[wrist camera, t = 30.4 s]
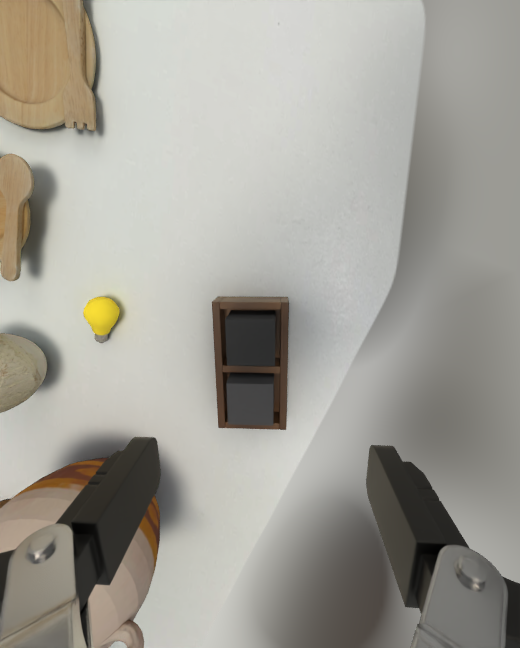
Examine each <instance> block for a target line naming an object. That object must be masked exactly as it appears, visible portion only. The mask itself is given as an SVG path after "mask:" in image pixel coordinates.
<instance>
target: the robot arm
mask: <svg viewBox="0 0 520 648" xmlns="http://www.w3.org/2000/svg"><path fill="white" fill-rule="evenodd" d="M160 476H161V469H160V462H159V454H158V446H157V441H156V439H155V438H152V437H134V438H133V439H132V440H131V441H130V443H129V444H128V445H127V447H126V448H125V450H124V451H117V452H116V453H115V454H113V455H112V456H111V457H109V458H108V459H107V460H105V461H104V463H103V464H102V465H101V466H100V468H99V469H98V470H97V471H96V474H95V475H93V476H92V478H91V479H90V480H89V482H88V484H87V485H85V487H84V488H83V489H82V490H81V492H80V493H79V494H78V495H77V497H76V498H75V499H74V500H73V502H72V503H71V504H70V506H69V507H68V508H67V509H66V511H65V512H64V513H63V514H62V516H61V517H60V518H59V519H58V521H57V522H56V523H55V524H52V525H49V526H46V527H43V528H41V529H39V530H37V531H35V532H34V533H32V534H31V535H29V536H28V537H27V538H26V539H24V540H23V541H22V542H21V543H20V544H19V545H18V547H17V548H16V549H14V550H10V551H6V552H2V553H0V648H94V645H93V634H92V623H91V611H90V602H89V596H90V594H91V593H92V591H93V589H94V587H95V585H110V584H111V582H112V580H113V578H114V576H115V574H116V572H117V570H118V568H119V566H120V564H121V562H122V560H123V558H124V556H125V554H126V552H127V550H128V548H129V545H130V543H131V541H132V539H133V537H134V535H135V533H136V531H137V529H138V527H139V525H140V523H141V521H142V519H143V517H144V515H145V513H146V511H147V509H148V507H149V505H150V503H151V501H152V499H153V497H154V495H155V493H156V491H157V488H158V486H159V482H160ZM366 486H367V494H368V498H369V501H370V504H371V507H372V510H373V513H374V516H375V519H376V522H377V525H378V528H379V531H380V534H381V536H382V539H383V542H384V545H385V548H386V551H387V554H388V557H389V560H390V563H391V566H392V569H393V571H394V575H395V578H396V581H397V584H398V587H399V590H400V592H401V595H402V598H403V601H404V604H405V607H413V608H419V609H420V611H421V618H420V621H419V624H417V627H416V630H415V633H414V637H413V640H412V644H411V647H410V648H520V584H519V583H516V582H514V581H511V580H509V579H506V578H504V577H502V576H501V574H500V573H499V571H498V570H497V569H496V568H495V567H494V566H493V565H492V563H490V562H489V561H488V560H487V559H486V558H484V557H483V556H482V555H480V554H479V553H477V552H475V551H473V550H471V549H470V548H469V547H468V545H467V543H466V542H465V540H464V539H463V537H462V535H461V534H460V533H459V531H458V529H457V527H456V525H455V524H454V522H453V521H452V519H451V517H450V516H449V514H448V512H447V511H446V509H445V508H444V506H443V504H442V503H441V501H439V498H438V496H437V494H436V493H435V491H434V490H432V487H431V485H430V483H429V481H428V480H427V478H426V476H425V475H424V473H423V472H422V471H420V470H419V469H418V468H417V467H416V466H415V465H414V464H412V463H411V462H402V460H401V458H400V456H399V455H398V453H397V451H396V450H395V448H394V447H393V446H381V445H371V447H370V450H369V459H368V469H367V479H366Z"/></svg>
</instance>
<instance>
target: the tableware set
mask: <svg viewBox="0 0 520 648" xmlns="http://www.w3.org/2000/svg"><path fill="white" fill-rule="evenodd" d="M95 68H96V50H95V41H94V36H93V32H92V27H91V24H90V21H89V18H88V15H87V13H86V11H85V9H84V6H83V0H0V116H1V117H3V118H4V119H6V120H7V121H10V122H12V123H14V124H17V125H19V126H22V127H25V128H30V129H49V128H54V127H57V126H60V125H62V124H64V123H65V126H66V127H67V128H73V129H74V128H75V123H77V129H81V130H84V129H85V124H87V129H88V130H90V131H95V130H96V103H95V96H94V94H93V92H92V90H91V89H92V86H93V83H94V77H95ZM33 190H34V177H33V174H32V170H31V168H30V166H29V165H28V163H27V162H26V161H25V160H24V159H23V158H21V157H19V156H17V155H14V154H7V155H5V156H3V157H2V158H0V262H1V275H2V276H3V278H4V279H6V280H8V281H15V280H17V279H18V278H19V276H20V271H21V249H22V247H23V246H24V244H25V242H26V240H27V237H28V235H29V230H30V208H29V202H28V199H29V198H30V197H31V195H32V193H33Z"/></svg>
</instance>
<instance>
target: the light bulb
mask: <svg viewBox="0 0 520 648" xmlns="http://www.w3.org/2000/svg"><path fill="white" fill-rule="evenodd" d="M83 313H84V317H85V319H86V320H87V321H88V323H89V324H90V326H91V327H92V330H93V332H94V333H95V340H96V341H98V342H100V343H103V342H105V341H107V340H108V333H110V330H111V328H112V327H113V326H114V324H115V323H116V322H117V319H118V317H119V313H120V312H119V308H118V306H117V305H116V303H115V302H114V301H113V300H111V299H109V298H106V297H96V298H94V299H91V300H89V302H88V303H87V305H86V307H85V308H84V312H83Z"/></svg>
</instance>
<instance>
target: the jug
mask: <svg viewBox="0 0 520 648" xmlns="http://www.w3.org/2000/svg"><path fill="white" fill-rule="evenodd" d="M107 459H108V458H100V459H93V460H87V461H81V462H76V463H73V464H70V465H67V466H65V467H63V468H61V469H59V470H57V471H55V472H53V473H51V474H49V475H47V476H45V477H43V478H41V479H40V480H38V481H37V482H35V483H33V484H32V485H30V486H29V487H27V488H26V489H24V490H23V491H21V492H20V493H18V494H17V495H16V496H15V497H13V498H12V499H11V500H10V501H9V502H7V503H6V504H5V505H4V506H3V507H2V508H0V553H2V552H6V551H10V550H14V549H16V548H17V547H18V545H19V544H20V543H21V542H22V541H23V540H24V539H26V538H27V537H28V536H29V535H31V534H32V533H34V532H35V531H37V530H39V529H41V528H43V527H46V526H49V525H52V524H55V523H56V522H57V521H58V519H59V518H60V517H61V516H62V514H63V513H64V512H65V511H66V509H67V508H68V507H69V506H70V504H71V503H72V502H73V500H74V499H75V498H76V497H77V495H78V494H79V493H80V492H81V490H82V489H83V488H84V487H85V485H87V484H88V482H89V480H90V479H91V478H92V476H93V475H95V474H96V471H97V470H98V469H99V468H100V466H101V465H102V464H103V463H104V461H105V460H107ZM159 541H160V512H159V507H158V503H157V500H156V497H155V495H154V497H153V499H152V501H151V503H150V505H149V507H148V509H147V511H146V513H145V515H144V517H143V519H142V521H141V523H140V525H139V527H138V529H137V531H136V533H135V535H134V537H133V539H132V541H131V543H130V545H129V548H128V550H127V552H126V554H125V556H124V558H123V560H122V562H121V564H120V566H119V568H118V570H117V572H116V574H115V576H114V578H113V580H112V582H111V584H110V585H95V587H94V589H93V591H92V593H91V594H90V596H89V602H90V611H91V623H92V634H93V645H94V648H109V647H110V646H111V645H112V644H113V643H114V642H115V641H122V642H124V643H125V644H126V646H127V648H144V639H143V634H142V631H141V629H140V628H139V626H138V625H137V624H136V623H135V622H133V620H134V618H135V616H136V614H137V613H138V611H139V609H140V607H141V605H142V604H143V602H144V600H145V598H146V596H147V594H148V591H149V587H150V584H151V581H152V577H153V574H154V570H155V566H156V560H157V554H158V547H159Z"/></svg>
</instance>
